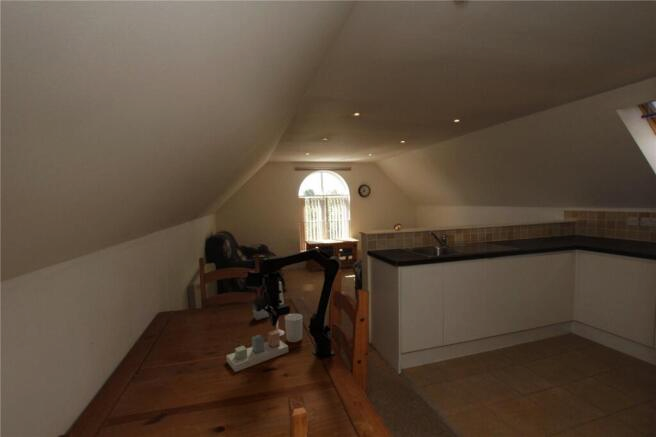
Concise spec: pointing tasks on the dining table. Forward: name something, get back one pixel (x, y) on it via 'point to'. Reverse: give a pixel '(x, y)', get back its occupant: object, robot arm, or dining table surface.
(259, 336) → the grey rectangular block
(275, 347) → the button board
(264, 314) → the medicine box
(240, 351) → the pale green block
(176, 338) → the dining table surface
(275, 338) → the terracotta button
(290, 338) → the white cup
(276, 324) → the champagne flute
